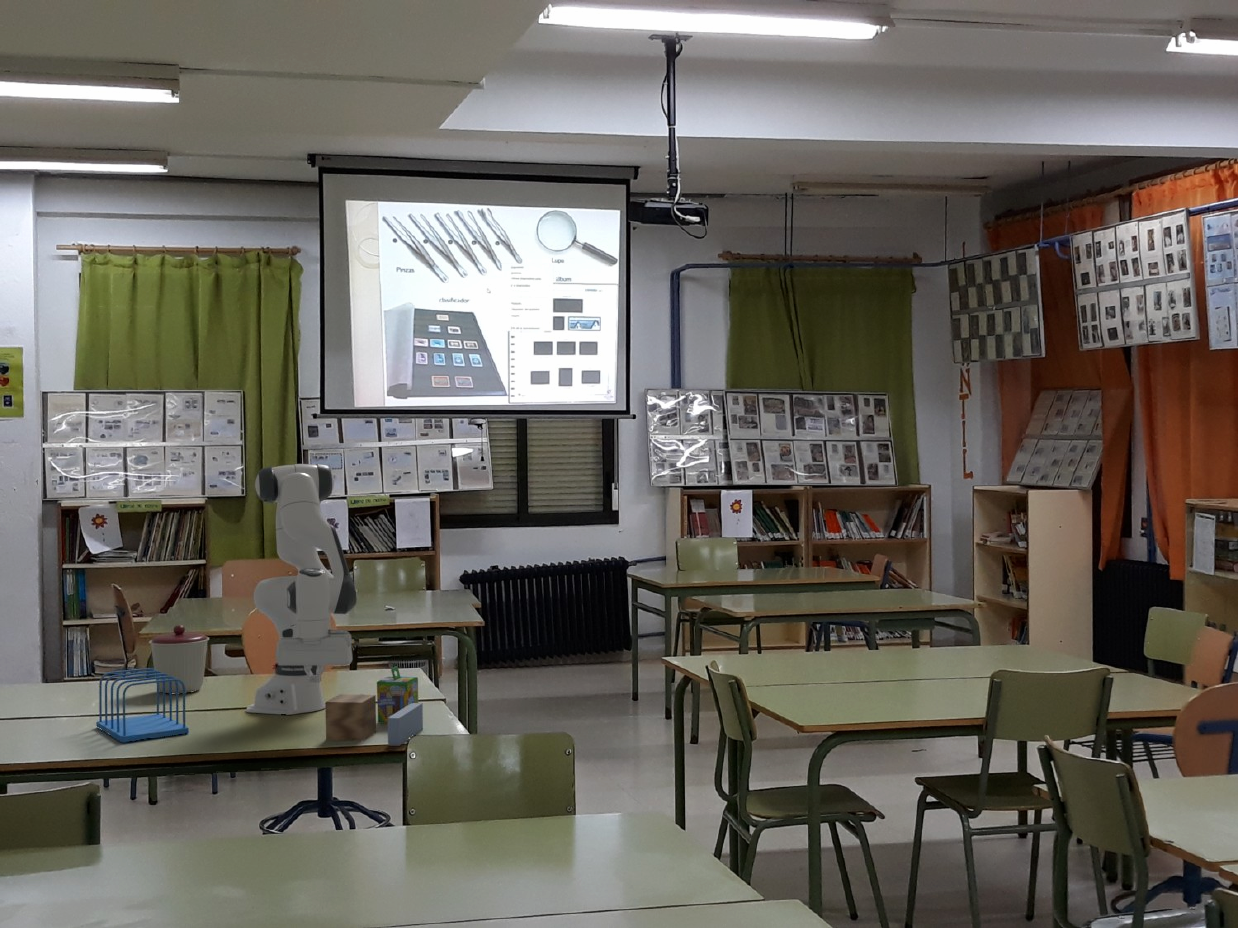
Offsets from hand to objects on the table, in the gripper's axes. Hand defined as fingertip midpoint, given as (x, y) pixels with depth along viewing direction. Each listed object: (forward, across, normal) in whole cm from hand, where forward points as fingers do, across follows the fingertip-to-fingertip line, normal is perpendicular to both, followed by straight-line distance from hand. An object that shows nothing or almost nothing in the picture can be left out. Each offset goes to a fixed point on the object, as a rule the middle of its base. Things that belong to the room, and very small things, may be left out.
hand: (314, 682), depth 329 cm
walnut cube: (+14, -10, -1) cm, 17 cm away
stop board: (+14, -25, -1) cm, 29 cm away
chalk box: (+14, -16, -21) cm, 30 cm away
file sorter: (+14, +50, -1) cm, 52 cm away
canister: (+12, +68, -55) cm, 88 cm away
